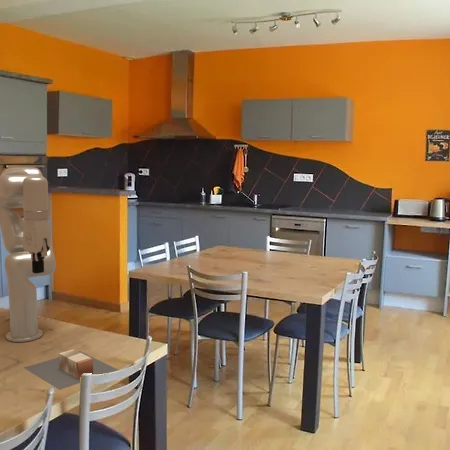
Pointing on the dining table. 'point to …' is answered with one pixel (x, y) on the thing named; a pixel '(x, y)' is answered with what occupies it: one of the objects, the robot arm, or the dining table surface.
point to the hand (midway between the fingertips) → (38, 272)
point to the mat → (61, 378)
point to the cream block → (75, 363)
